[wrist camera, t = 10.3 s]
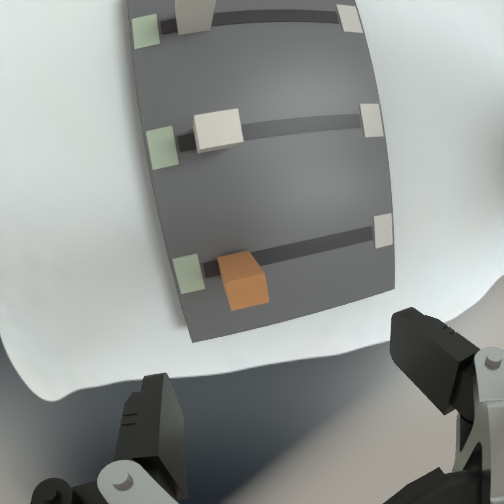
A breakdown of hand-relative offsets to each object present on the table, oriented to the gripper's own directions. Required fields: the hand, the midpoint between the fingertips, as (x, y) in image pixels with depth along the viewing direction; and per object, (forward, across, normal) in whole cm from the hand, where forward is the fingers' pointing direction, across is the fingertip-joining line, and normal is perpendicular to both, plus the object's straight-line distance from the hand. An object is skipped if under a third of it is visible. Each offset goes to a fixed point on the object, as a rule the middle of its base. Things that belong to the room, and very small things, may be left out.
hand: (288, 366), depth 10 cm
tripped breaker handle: (+11, 0, 0) cm, 11 cm away
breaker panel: (+14, -4, -8) cm, 16 cm away
